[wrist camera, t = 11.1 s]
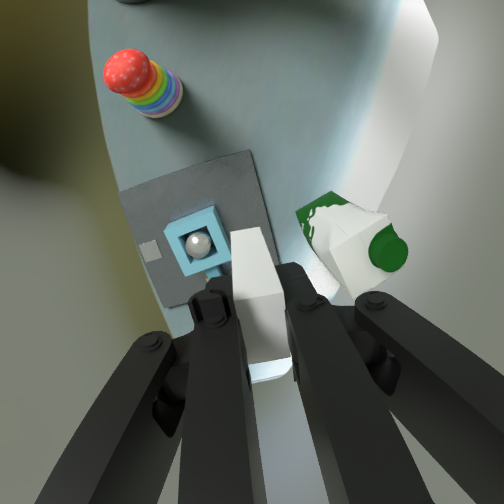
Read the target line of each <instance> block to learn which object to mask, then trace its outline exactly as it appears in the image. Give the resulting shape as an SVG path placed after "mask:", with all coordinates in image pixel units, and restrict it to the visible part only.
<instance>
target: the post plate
mask: <svg viewBox="0 0 504 504" xmlns="http://www.w3.org/2000/svg"><path fill="white" fill-rule="evenodd" d="M118 196H119V199H120V202H121V204H122V207H123V210H124V213H125V216H126V218H127V221H128V224H129V226H130V229H131V232H132V234H133V237H134V239H135V242H136V245H137V247H138V250H139V252H140V254H141V257H142V259H143V262H144V264H145V266H146V269H147V271H148V273H149V276H150V278H151V280H152V282H153V285H154V287H155V289H156V291H157V294H158V296H159V298H160V300H161V302H162V304H163V306H164V308H167V307H171V306H175V305H179V304H183V303H187V302H188V300H189V299H190V297H191V296H193V295H194V294H195V293H197V292H199V291H201V290H204V289H205V286H206V283H207V282H208V281H209V279H208V277H207V275H206V273H205V271H204V270H202V271H200V272H197V273H194V274H191V275H189V276H186V277H185V275H184V273H183V271H182V269H181V267H180V265H179V263H178V261H177V259H176V257H175V255H174V253H173V251H172V248H171V246H170V244H169V242H168V240H167V238H166V236H165V233H164V230H165V228H166V227H167V225H168V224H169V223H171V222H174V221H176V220H178V219H181V218H183V217H186V216H188V215H191V214H193V213H196V212H198V211H201V210H203V209H206V208H208V207H211V206H215V208H216V211H217V213H218V216H219V218H220V221H221V223H222V226H223V228H224V230H225V233H226V235H227V238H228V240H229V243H230V245H231V233H230V232H232V231H237V230H243V229H249V228H255V227H260V229H261V232H262V235H263V237H264V240H265V243H266V245H267V248H268V251H269V253H270V256H271V259H272V262H273V264H274V266H275V265H279V261H278V257H277V253H276V249H275V245H274V241H273V237H272V233H271V229H270V225H269V222H268V218H267V214H266V210H265V206H264V202H263V198H262V195H261V191H260V187H259V183H258V180H257V176H256V172H255V169H254V165H253V161H252V158H251V154H250V150H245V151H242V152H238V153H234V154H231V155H227V156H224V157H220V158H217V159H214V160H210V161H207V162H204V163H200V164H197V165H194V166H191V167H188V168H185V169H182V170H179V171H176V172H173V173H170V174H167V175H164V176H161V177H159V178H156V179H153V180H150V181H148V182H145V183H142V184H139V185H137V186H134V187H132V188H129V189H127V190H124V191H122V192H119V193H118ZM185 237H186V239H187V241H186V251H187V253H188V254H189V255H190V256H192V257H194V258H202V257H205V256H206V255H207V254H208V253H209V251H210V248H211V247H213V246H215V244H214V242H213V239H212V237H211V235H210V232H209V230H208V228H207V226H204V227H202V228H199V229H196V230H194V231H191V232H189V233H186V234H185ZM219 267H220V270H221V272H222V274H225V275H229V274H232V260H230V261H227V262H225V263H222V264H219Z"/></svg>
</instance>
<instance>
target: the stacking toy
mask: <svg viewBox="0 0 504 504" xmlns="http://www.w3.org/2000/svg"><path fill="white" fill-rule="evenodd" d="M103 79H104V82H105V84H106V86H107V87H108V88H109V89H110V90H111V91H113V92H116V93H120V94H121V95H123V96H124V97H125V98H126V99H127V100H128V102H129V103H130V104H131V105H132V106H133V107H134V108H135V109H137V110H138V111H139V112H140V113H141V114H142V115H144V116H146V117H150V118H160V117H164V116H166V115H168V114H170V113H171V112H173V111H174V110H175V109H176V108H177V106H178V105H179V103H180V101H181V99H182V95H183V87H182V83H181V81H180V79H179V78H178V77H177V76H176V75H175V74H174V73H172V72H171V71H169V70H167V69H164V68H162V67H161V66H159V65H158V64H156V63H155V62H153V61H150V60H149V59H148V57H147V56H146V55H145V54H144V53H143V52H141V51H139V50H136V49H125V50H121V51H119V52H117V53H116V54H114V55H113V56H112V57H111V58H110V59H109V60H108V61H107V63H106V65H105V67H104V71H103Z"/></svg>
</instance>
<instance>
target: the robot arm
mask: <svg viewBox="0 0 504 504" xmlns="http://www.w3.org/2000/svg"><path fill="white" fill-rule="evenodd" d="M117 1H120V2H123V3H141V2H146V1H150V0H117ZM230 233H231V258H232V274H229V275H223V276H217V277H211V278H210V280H209V281H208V282H207V283H206V286H205V289H204V290H201V291H199V292H197V293H195V294H194V295H193V296H191V297H190V299H189V300H188V302H187V303H188V306H189V309H190V312H191V315H192V318H193V321H194V324H195V325H194V330H193V331H191V332H190V333H188V334H186V335H184V336H181V337H178V338H175V339H172V338H171V336H170V335H169V334H168V333H166V332H163V331H152V332H149V333H146V334H144V335H143V336H141V337H139V338H138V339H137V340H136V341H135V342H134V343H133V345H132V346H131V347H130V349H129V350H128V352H127V353H126V355H125V356H124V358H123V359H122V361H121V362H120V364H119V365H118V367H117V368H116V370H115V371H114V373H113V374H112V376H111V377H110V379H109V380H108V382H107V383H106V385H105V386H104V388H103V389H102V391H101V392H100V394H99V395H98V397H97V398H96V400H95V401H94V403H93V405H92V406H91V408H90V409H89V411H88V412H87V414H86V416H85V417H84V419H83V421H82V422H81V424H80V425H79V427H78V429H77V430H76V432H75V433H74V435H73V437H72V438H71V440H70V442H69V443H68V445H67V447H66V448H65V450H64V452H63V453H62V455H61V457H60V458H59V460H58V462H57V464H56V465H55V467H54V469H53V471H52V472H51V474H50V476H49V478H48V480H47V482H46V483H45V485H44V487H43V489H42V490H41V492H40V494H39V496H38V498H37V500H36V502H35V504H157V502H158V499H159V496H160V494H161V491H162V489H163V486H164V483H165V480H166V478H167V475H168V473H169V470H170V467H171V465H172V462H173V459H174V456H175V454H176V451H177V448H178V446H179V443H180V440H181V438H182V445H181V458H180V474H179V492H178V504H267V499H266V492H265V485H264V477H263V470H262V463H261V456H260V448H259V440H258V432H257V424H256V417H255V408H254V400H253V392H252V384H251V375H250V371H249V367H248V365H249V364H255V363H261V362H267V361H272V360H277V359H283V358H288V357H291V356H290V352H291V355H292V363H293V374H294V381H297V384H298V388H299V391H300V395H301V399H302V402H303V406H304V409H305V413H306V417H307V421H308V424H309V428H310V432H311V435H312V439H313V443H314V447H315V450H316V454H317V457H318V462H319V465H320V469H321V473H322V476H323V480H324V484H325V488H326V491H327V496H328V499H329V503H330V504H435V503H434V502H433V500H432V499H431V497H430V494H429V492H428V490H427V488H426V485H425V483H424V481H423V479H422V476H421V474H420V472H419V470H418V468H417V466H416V464H415V461H414V459H413V457H412V455H411V453H410V451H409V449H408V447H407V445H406V443H405V441H404V439H403V437H402V435H401V433H400V431H399V429H398V427H397V425H396V423H395V421H394V419H393V417H392V415H391V413H390V411H391V412H392V413H393V415H395V417H396V418H397V419H398V420H399V421H400V422H401V423H402V424H403V425H404V426H405V428H406V429H407V430H408V431H409V432H410V433H411V434H412V435H413V436H414V437H415V438H416V439H417V441H419V443H420V444H421V445H422V446H423V447H424V448H425V449H426V450H427V451H428V452H429V453H430V455H432V457H433V458H435V460H436V461H437V462H438V463H439V464H440V465H441V466H442V467H443V468H444V470H445V471H446V472H447V473H448V474H449V475H450V476H451V477H452V478H453V479H454V480H455V481H456V482H457V483H458V485H459V486H460V487H461V488H462V489H463V490H464V491H465V492H466V493H467V494H468V495H469V496H470V497H471V498H472V499H473V501H475V503H476V504H504V376H503V375H502V374H501V373H499V372H498V371H497V370H495V369H494V368H492V367H491V366H490V365H489V364H487V363H486V362H485V361H483V360H482V359H481V358H480V357H478V356H477V355H475V354H474V353H473V352H471V351H470V350H469V349H467V348H466V347H464V346H463V345H462V344H460V343H459V342H458V341H456V340H455V339H453V338H452V337H450V336H449V335H448V334H447V333H445V332H444V331H442V330H441V329H440V328H438V327H437V326H435V325H434V324H432V323H431V322H430V321H428V320H427V319H425V318H424V317H422V316H420V315H419V314H418V313H416V312H415V311H414V310H412V309H411V308H409V307H408V306H406V305H405V304H403V303H402V302H400V301H399V300H397V299H396V298H394V297H393V296H391V295H389V294H387V293H385V292H380V291H369V292H366V293H362V294H361V295H359V296H358V297H357V298H356V300H355V306H335V305H331V304H330V302H329V300H328V299H327V298H326V297H325V296H322V295H320V294H317V292H316V290H315V289H314V287H313V285H312V283H311V281H310V280H309V279H308V276H307V274H306V273H305V271H304V269H303V267H302V266H301V265H299V264H297V263H295V262H291V263H286V264H280V265H275V266H274V264H273V262H272V259H271V256H270V253H269V251H268V248H267V245H266V243H265V240H264V237H263V235H262V232H261V229H260V227H255V228H249V229H243V230H237V231H232V232H230ZM389 410H390V411H389Z"/></svg>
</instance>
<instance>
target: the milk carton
mask: <svg viewBox="0 0 504 504" xmlns="http://www.w3.org/2000/svg"><path fill="white" fill-rule="evenodd" d="M296 215H297V218H298V220H299V223H300V226H301V228H302V231H303V233H304V235H305V237H306V239H307V241H308V243H309V245H310V247H311V248H312V250H313V251H314V252H315V254H316V255H317V256H318V258H319V259H320V260H321V261H322V263H323V264H324V265H325V267H326V268H327V269H328V271H329V272H330V273H331V274H332V275H333V277H334V278H335V279H336V280H337V281H338V282H339V283H340V285H341V286H342V287H343V288H344V289H345V290H346V291H347V293H348V294H349V295H350V296H351V297H352V299H354V298H356V297H358V296H359V295H361V294H362V293H364V292H366V291H367V290H369V289H373V288H374V287H376V286H377V285H378V284H379V283H381V282H382V281H384V280H385V279H387V278H388V277H390V276H391V275H393V274H394V273H396V272H397V271H399V270H400V269H401V268H403V267H404V263H405V262H406V259H407V256H408V247H407V244H406V243H405V242H404V241H403V240H402V239H401V238H399V237H398V235H397V234H396V232H395V231H394V229H393V226H392V223H390V221H389V218H388V215H387V214H384V213H378V212H372V211H366V210H364V209H362V208H360V207H358V206H357V205H355V204H353V203H351V202H349V201H347V200H345V199H344V198H342V197H340V196H339V195H337V194H336V193H334V192H332V191H330V192H328V193H327V194H325V195H323V196H321V197H320V198H318V199H316V200H315V201H313V202H311V203H310V204H308V205H306V206H304V207H303V208H301V209H299V210H298V211H296Z"/></svg>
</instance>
